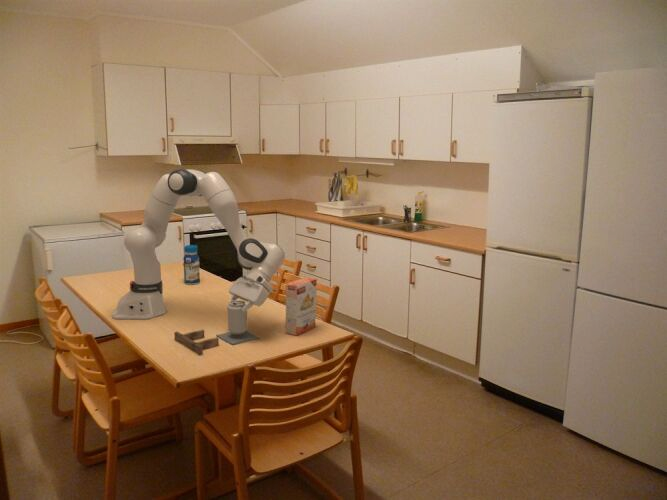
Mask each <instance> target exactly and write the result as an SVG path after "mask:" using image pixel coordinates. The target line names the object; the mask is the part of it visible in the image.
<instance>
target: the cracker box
mask: <svg viewBox="0 0 667 500" xmlns="http://www.w3.org/2000/svg"><path fill="white" fill-rule="evenodd" d="M317 281H318V279H317V278H313V277H307V276H306V277H302V278H300V279H296V280H293V281H290V282H288V283H286V285H285V287H286V288H285V334H287V335H291V336H299V335H301V334H302V333H305V332H307V331H309V330H311V329H314V328H315V327H316V319H317V317H316V313H317V311H316V309H317V284H318V283H317Z"/></svg>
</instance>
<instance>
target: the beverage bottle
mask: <svg viewBox="0 0 667 500" xmlns="http://www.w3.org/2000/svg"><path fill="white" fill-rule="evenodd" d="M198 249H199V248H198V245H196V244H187V245H184V249H183V251H184V253H185V254H184V255H183V257H182V259H183V263H182V265H183V277H184V278H183V283H184V284H185V285H188V286H189V285H191V286H194V285H198V284H200V283H201V279H200V256H199V254H198Z"/></svg>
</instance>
